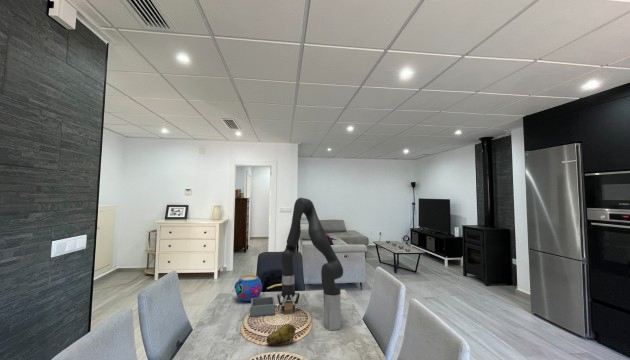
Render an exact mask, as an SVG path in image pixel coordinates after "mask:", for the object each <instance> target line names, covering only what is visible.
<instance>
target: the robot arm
mask: <svg viewBox="0 0 630 360" xmlns="http://www.w3.org/2000/svg"><path fill="white" fill-rule="evenodd" d="M292 211H293V212H292V218H291V224H290V229H289V232H288V235H287V239H286V246H285V249H284V250H283V251H282V253H281V255H280V257H281V259H280V260H281V267H282V277H281V292H280V293H277V295H276V297H277V302H278V305H279V306H281V312H282V313H284V303H285V302H286V301H291V300H292V303H293V313H294V311H295V310H296V309H295V308H296V305H297V304H299V299H300V292H296V291H295V290H296V289H295V268H294V265H293V261H294V258H295V255H296V252H297V248H298V247H297V246H298V244H299V241H300V237H301V235H302V234H301V233H302V232H301V231H302V229H301V221H302V220H301V219H302V216H303V215H304V216H305V217H306V220H307V223H308V227H307V229H308V230H307V231H308V236H309V239H310V241H311V243H312V245H313V246H314V247H315V249H317V251H319V252H320V253H321V255H323V256H324V258H325V260H326V261H327V262H326V263H324V264H322V266H321V271H320V274H321V275H320V276H321V287H322V290H323V291H322V292H323V293H322V294H323V327H324V328H325V329H327V330H329V331H334V330H335V331H336V330H341V328H342V309H341V308H342V305H341V303H342V301H341V299H342V297H341V295H342V294H341V291H342V290H341V287H340V286H339V285H336V282H335V281H336V280H338V279H340V278H342V277H343V276H344V268H343V266H342V263H341V261H340V260H339V257H338V256H337V254H336V253H335V251H334V249H333V247H332V244H331V243H330V240H329V239H328V236H327V234H326V232H325V230H324V227H323V226H322V224H321V221H320V219H319V217H318V214H317V210H316V208H315V205H314V203H313V201H312V200H311V199H309V198H305V197H298V198H297V199H296V200H295V202H294V205H293V210H292ZM294 297H295V300H294ZM281 298H282V302H281Z"/></svg>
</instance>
